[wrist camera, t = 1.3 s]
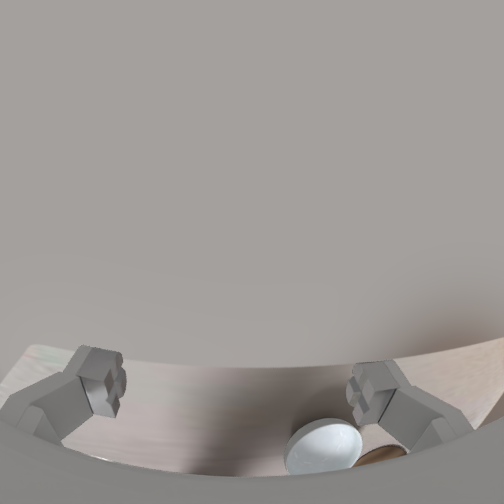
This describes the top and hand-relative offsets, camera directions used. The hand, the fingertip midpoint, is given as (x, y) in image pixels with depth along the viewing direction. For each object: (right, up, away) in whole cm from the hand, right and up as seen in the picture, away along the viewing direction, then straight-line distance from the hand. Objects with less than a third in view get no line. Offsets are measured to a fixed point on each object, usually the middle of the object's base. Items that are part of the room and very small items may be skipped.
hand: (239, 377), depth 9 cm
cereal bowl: (+15, -38, +46) cm, 61 cm away
